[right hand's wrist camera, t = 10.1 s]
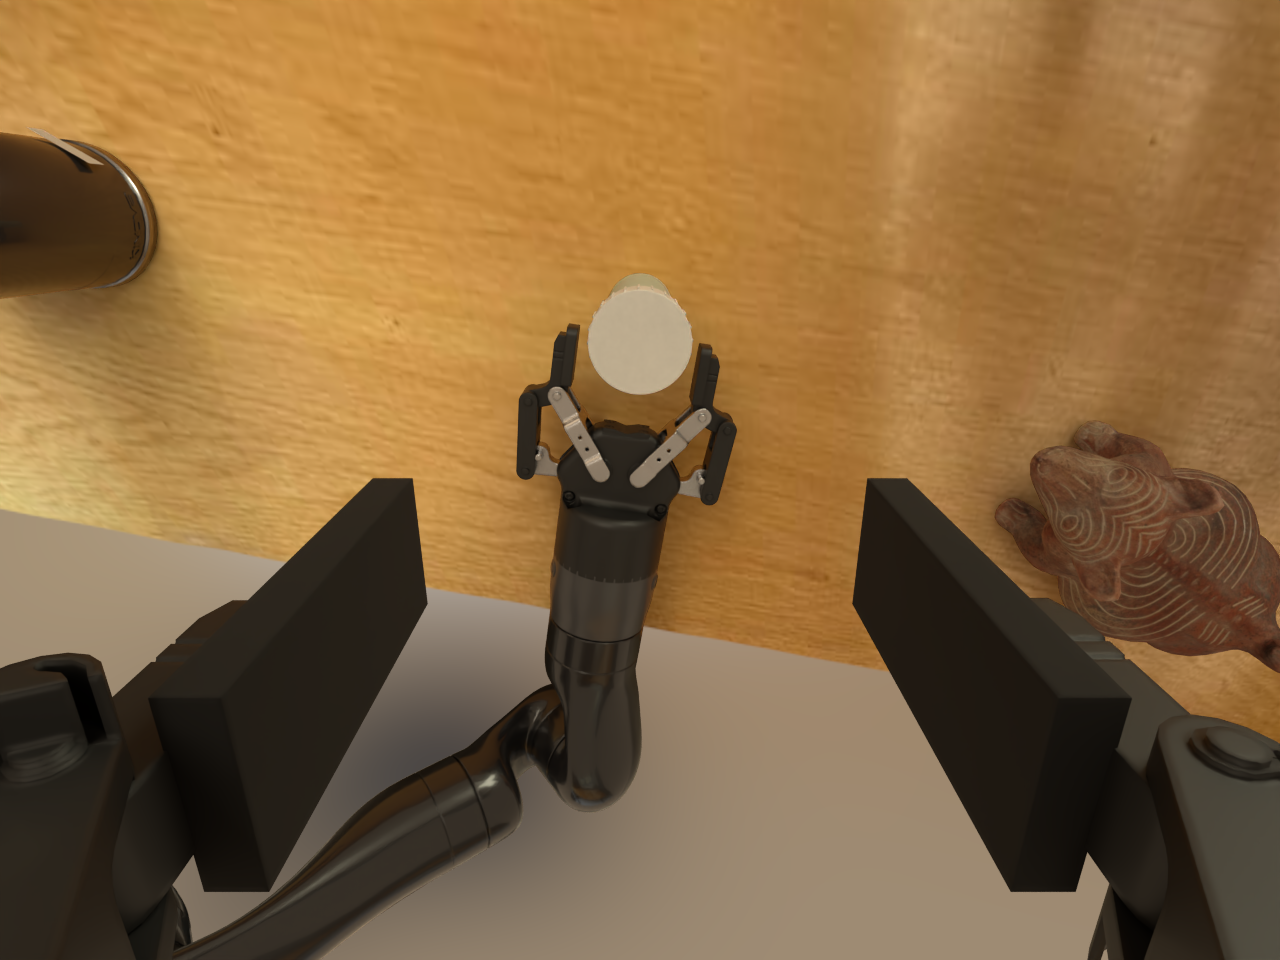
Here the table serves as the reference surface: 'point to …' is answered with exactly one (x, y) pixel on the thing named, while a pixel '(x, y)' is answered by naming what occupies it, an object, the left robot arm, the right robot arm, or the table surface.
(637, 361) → the lid
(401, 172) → the table surface
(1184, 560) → the sculpture
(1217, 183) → the table surface
